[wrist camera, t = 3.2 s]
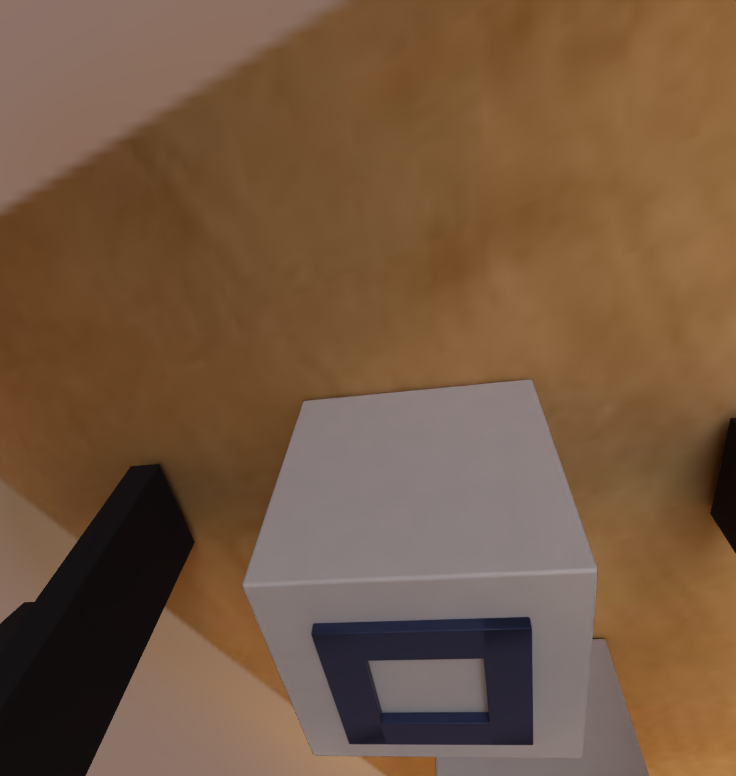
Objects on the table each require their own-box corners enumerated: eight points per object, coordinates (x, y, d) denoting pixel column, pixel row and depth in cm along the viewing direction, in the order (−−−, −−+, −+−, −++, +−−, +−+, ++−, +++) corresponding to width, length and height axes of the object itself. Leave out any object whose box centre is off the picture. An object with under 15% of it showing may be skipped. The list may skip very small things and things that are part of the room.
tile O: (302, 400, 12) (235, 597, 8) (532, 378, 11) (603, 583, 7) (343, 553, 15) (311, 769, 10) (533, 544, 14) (586, 772, 9)
